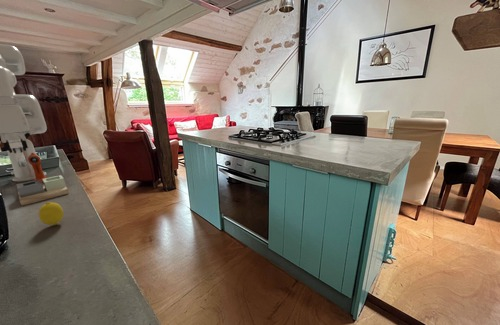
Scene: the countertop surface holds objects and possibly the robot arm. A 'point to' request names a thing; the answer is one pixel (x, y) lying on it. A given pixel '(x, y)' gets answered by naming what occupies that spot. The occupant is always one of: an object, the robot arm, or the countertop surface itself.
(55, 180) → the pale green hollow frame
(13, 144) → the light grey block
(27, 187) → the block
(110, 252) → the countertop surface
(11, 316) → the countertop surface
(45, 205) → the lemon
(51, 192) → the board
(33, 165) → the toy drill
